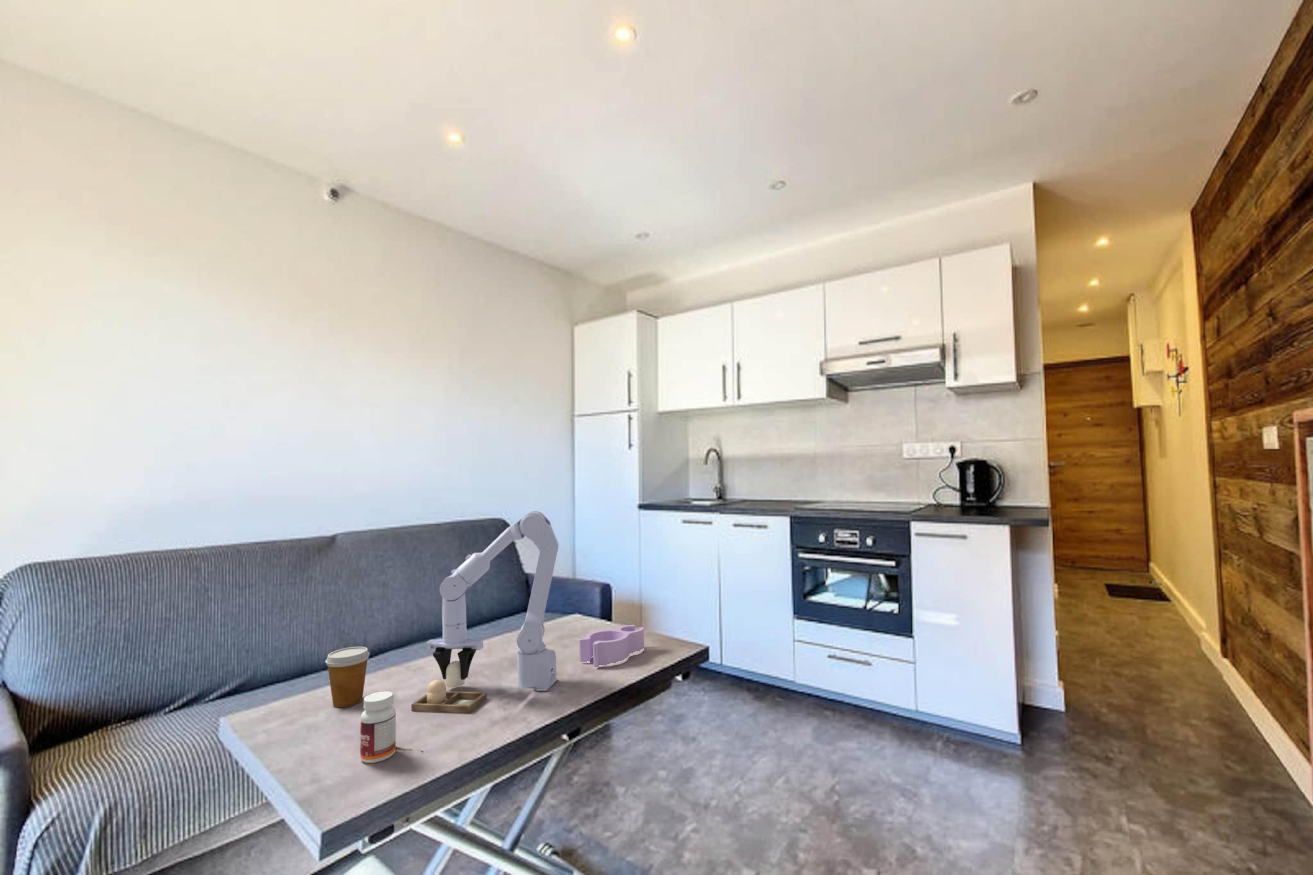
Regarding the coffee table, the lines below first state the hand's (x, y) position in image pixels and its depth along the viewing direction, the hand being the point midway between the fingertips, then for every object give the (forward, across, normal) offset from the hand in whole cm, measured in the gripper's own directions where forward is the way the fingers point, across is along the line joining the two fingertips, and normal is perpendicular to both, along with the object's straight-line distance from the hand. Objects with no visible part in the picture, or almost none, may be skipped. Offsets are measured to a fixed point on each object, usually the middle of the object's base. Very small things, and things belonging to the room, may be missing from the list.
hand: (455, 678), depth 137 cm
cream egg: (+2, 0, 0) cm, 2 cm away
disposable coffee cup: (+3, +24, +8) cm, 26 cm away
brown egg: (+3, 0, +9) cm, 9 cm away
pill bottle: (+4, -2, +31) cm, 31 cm away
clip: (+4, -34, -28) cm, 44 cm away
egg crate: (+3, -4, +9) cm, 10 cm away
